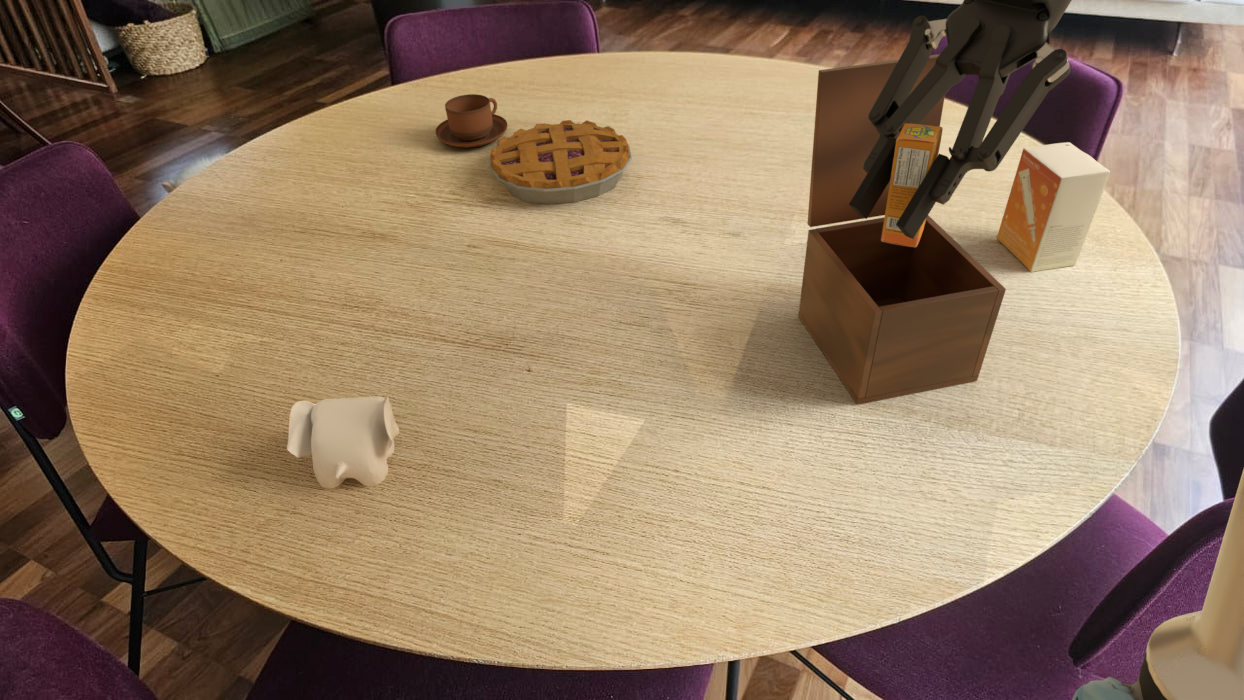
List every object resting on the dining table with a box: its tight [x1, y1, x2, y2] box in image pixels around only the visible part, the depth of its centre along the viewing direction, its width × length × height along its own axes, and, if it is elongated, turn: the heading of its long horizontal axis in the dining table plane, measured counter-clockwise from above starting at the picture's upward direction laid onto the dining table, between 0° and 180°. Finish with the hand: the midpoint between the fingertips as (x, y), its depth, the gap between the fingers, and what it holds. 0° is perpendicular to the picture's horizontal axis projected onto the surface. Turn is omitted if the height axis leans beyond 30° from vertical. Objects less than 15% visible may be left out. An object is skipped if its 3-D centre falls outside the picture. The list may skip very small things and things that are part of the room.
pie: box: [488, 119, 633, 205], centre depth 123 cm, size 22×22×5 cm
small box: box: [996, 141, 1111, 273], centre depth 99 cm, size 8×6×13 cm
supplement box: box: [881, 123, 944, 247], centre depth 69 cm, size 3×3×10 cm
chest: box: [797, 214, 1007, 405], centre depth 86 cm, size 16×14×12 cm
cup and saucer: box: [435, 93, 508, 148], centre depth 135 cm, size 12×12×6 cm
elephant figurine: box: [286, 395, 400, 490], centre depth 77 cm, size 10×12×9 cm
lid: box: [807, 53, 946, 228], centre depth 86 cm, size 16×14×6 cm
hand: (881, 221), depth 68 cm, fingers closed on supplement box, 4 cm apart
